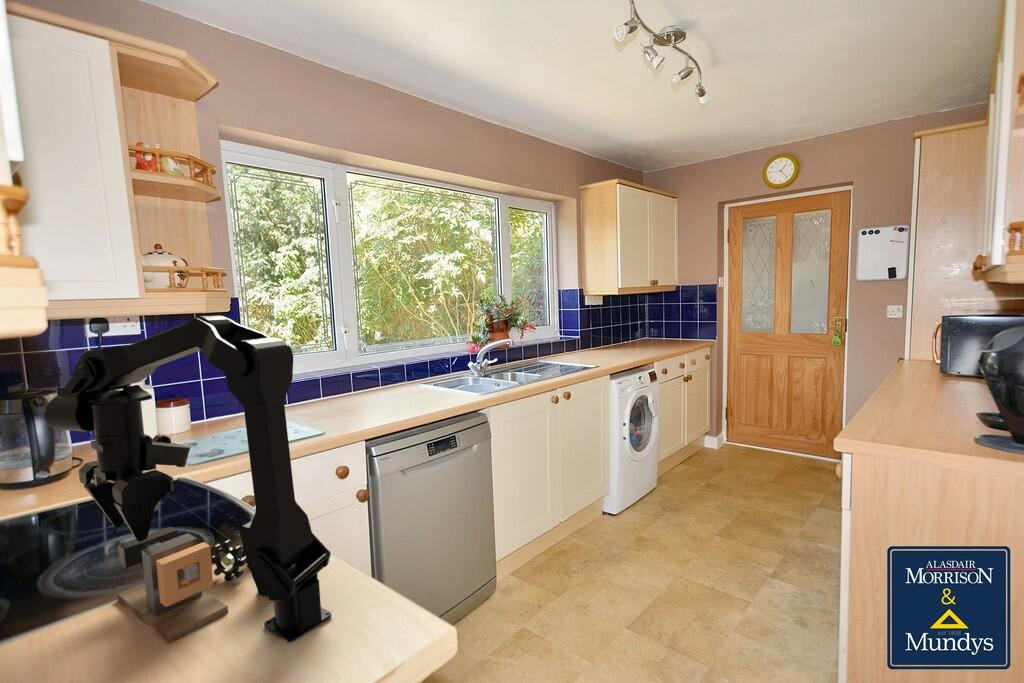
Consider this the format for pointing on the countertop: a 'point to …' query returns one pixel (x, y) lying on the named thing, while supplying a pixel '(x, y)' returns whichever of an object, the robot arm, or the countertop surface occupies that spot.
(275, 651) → the countertop surface
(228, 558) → the valve
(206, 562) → the collar
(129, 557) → the rod
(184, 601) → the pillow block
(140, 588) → the base plate
